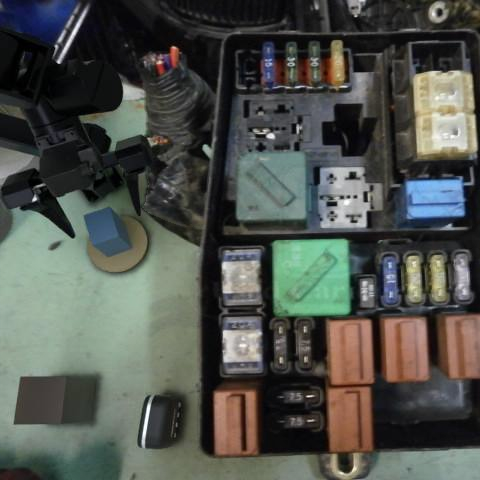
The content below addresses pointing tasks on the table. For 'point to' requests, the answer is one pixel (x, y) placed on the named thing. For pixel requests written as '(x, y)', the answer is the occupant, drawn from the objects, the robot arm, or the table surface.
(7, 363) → the table surface
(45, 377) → the block
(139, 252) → the tan disc
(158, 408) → the battery charger
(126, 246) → the relay
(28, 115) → the robot arm
